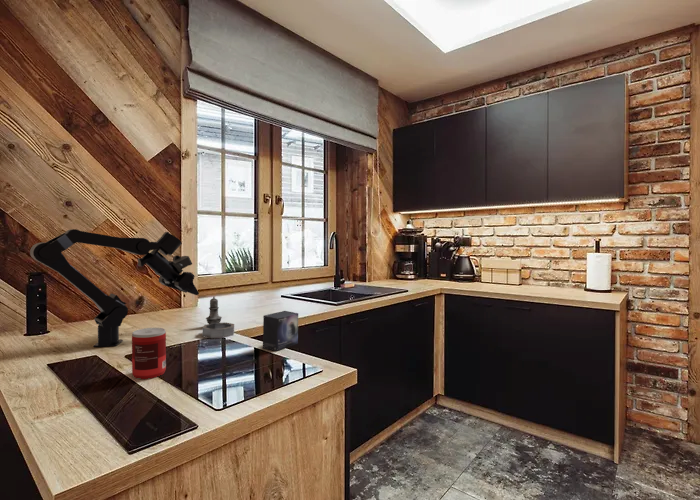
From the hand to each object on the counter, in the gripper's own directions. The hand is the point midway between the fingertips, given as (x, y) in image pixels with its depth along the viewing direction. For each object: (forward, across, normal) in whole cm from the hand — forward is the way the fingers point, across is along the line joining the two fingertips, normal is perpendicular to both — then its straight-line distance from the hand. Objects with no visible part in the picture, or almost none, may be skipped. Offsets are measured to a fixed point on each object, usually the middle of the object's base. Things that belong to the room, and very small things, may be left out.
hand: (192, 293), depth 142 cm
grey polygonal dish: (+12, -12, +7) cm, 19 cm away
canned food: (-10, -37, +30) cm, 48 cm away
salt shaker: (+16, -1, +4) cm, 16 cm away
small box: (+18, -40, +2) cm, 44 cm away
